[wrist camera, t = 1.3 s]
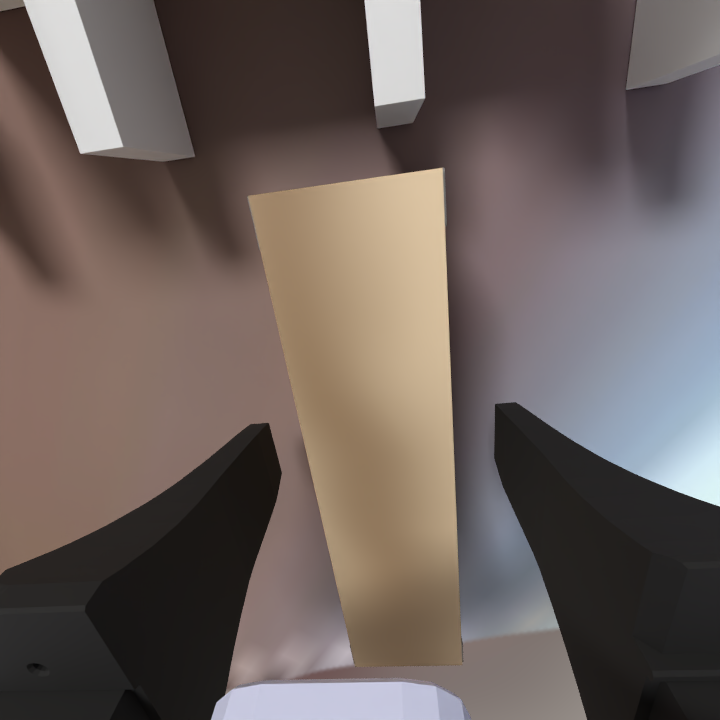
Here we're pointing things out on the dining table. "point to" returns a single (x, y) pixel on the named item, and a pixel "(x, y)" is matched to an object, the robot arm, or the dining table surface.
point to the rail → (374, 399)
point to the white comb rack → (387, 57)
